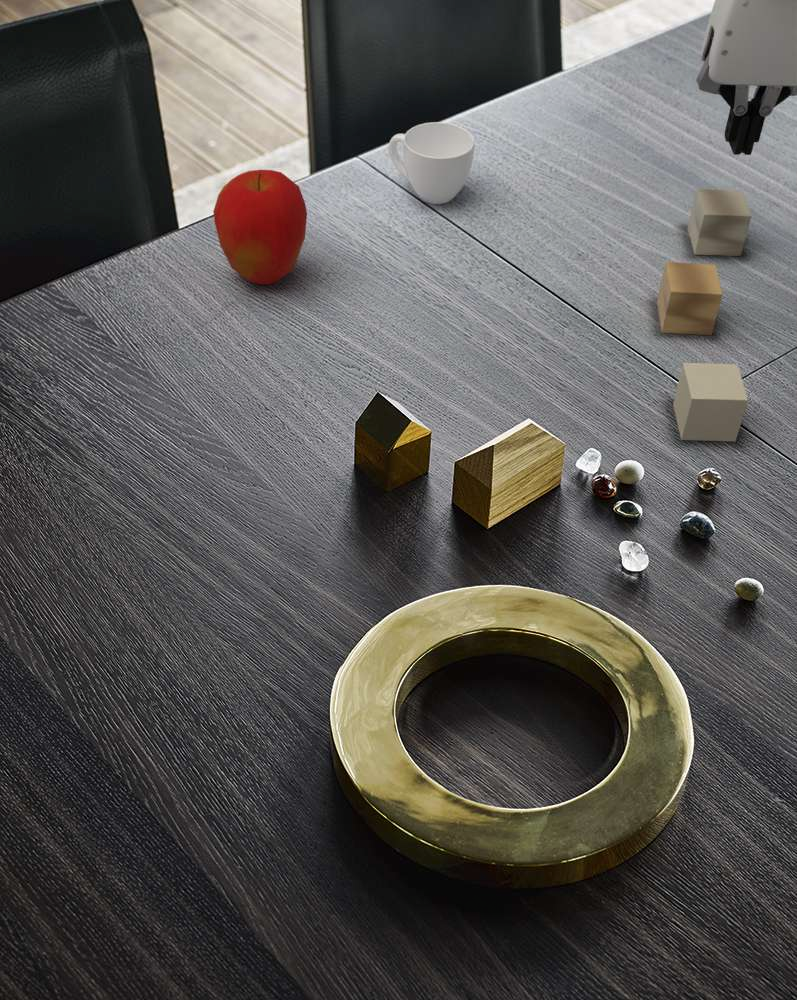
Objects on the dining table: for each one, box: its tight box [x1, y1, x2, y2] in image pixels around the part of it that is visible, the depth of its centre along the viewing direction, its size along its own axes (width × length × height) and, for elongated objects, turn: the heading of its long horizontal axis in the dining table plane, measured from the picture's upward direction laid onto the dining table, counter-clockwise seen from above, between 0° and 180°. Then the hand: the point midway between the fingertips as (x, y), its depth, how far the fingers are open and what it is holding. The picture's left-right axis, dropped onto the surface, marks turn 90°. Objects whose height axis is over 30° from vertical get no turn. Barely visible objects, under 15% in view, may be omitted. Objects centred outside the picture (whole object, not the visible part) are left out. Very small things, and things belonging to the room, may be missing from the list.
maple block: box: [656, 261, 724, 336], centre depth 124 cm, size 5×5×5 cm
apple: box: [213, 169, 308, 286], centre depth 125 cm, size 9×9×12 cm
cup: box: [387, 121, 476, 205], centre depth 139 cm, size 8×10×7 cm
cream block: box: [672, 362, 749, 443], centre depth 113 cm, size 5×5×5 cm
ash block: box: [687, 188, 752, 257], centre depth 134 cm, size 5×5×5 cm
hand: (739, 147), depth 120 cm, fingers closed
